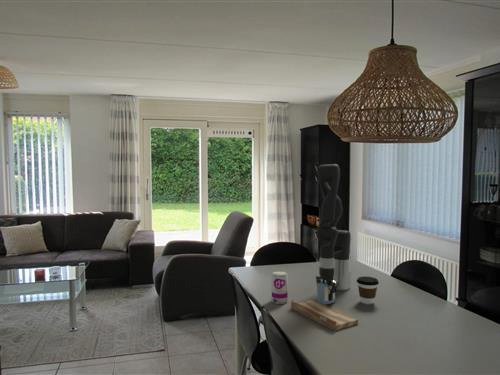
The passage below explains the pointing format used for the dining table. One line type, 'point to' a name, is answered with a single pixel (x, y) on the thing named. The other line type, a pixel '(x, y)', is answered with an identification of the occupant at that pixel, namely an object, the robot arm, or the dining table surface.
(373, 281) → the coffee cup
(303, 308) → the wooden plank
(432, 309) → the dining table surface
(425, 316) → the dining table surface
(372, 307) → the dining table surface
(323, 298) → the carton
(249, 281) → the dining table surface
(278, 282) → the supplement can
